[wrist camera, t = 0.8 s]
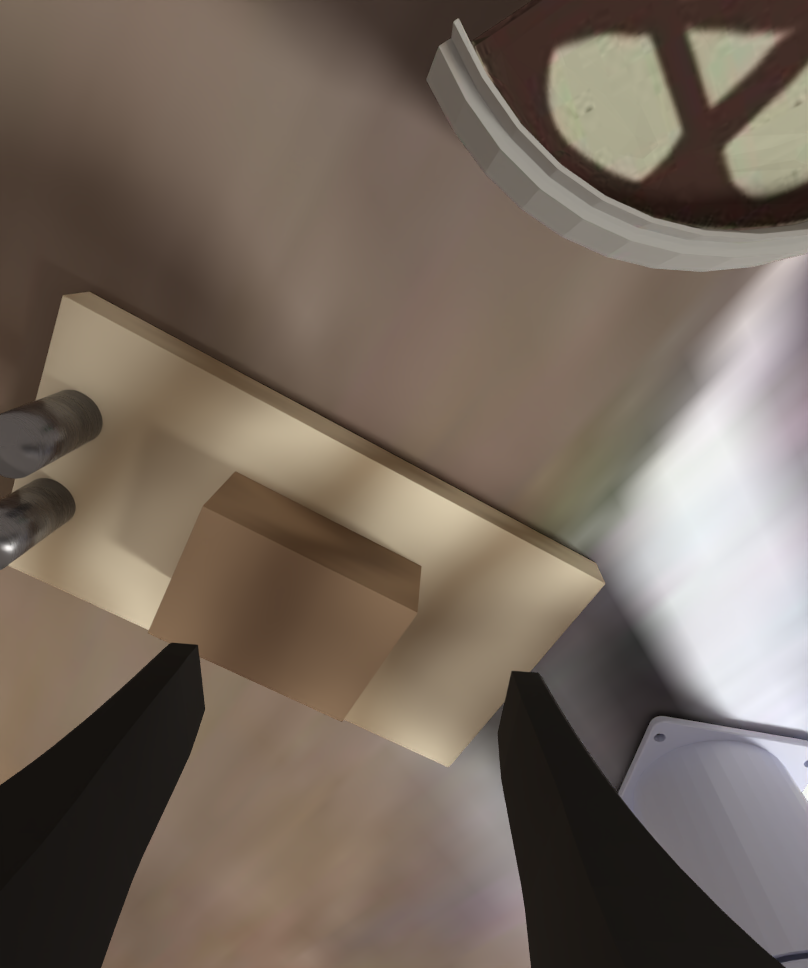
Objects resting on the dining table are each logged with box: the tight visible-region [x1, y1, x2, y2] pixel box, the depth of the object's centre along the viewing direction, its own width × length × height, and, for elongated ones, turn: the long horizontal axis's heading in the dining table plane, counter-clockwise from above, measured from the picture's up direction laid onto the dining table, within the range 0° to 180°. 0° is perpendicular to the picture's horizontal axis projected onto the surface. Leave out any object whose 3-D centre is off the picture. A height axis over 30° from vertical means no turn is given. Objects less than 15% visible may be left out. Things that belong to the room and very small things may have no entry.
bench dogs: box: [0, 390, 103, 570], centre depth 19 cm, size 2×6×4 cm, turn 152°
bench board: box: [8, 292, 605, 767], centre depth 23 cm, size 22×12×2 cm, turn 62°
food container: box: [426, 0, 808, 272], centre depth 12 cm, size 12×6×10 cm, turn 118°
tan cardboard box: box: [148, 471, 422, 722], centre depth 21 cm, size 8×6×3 cm
